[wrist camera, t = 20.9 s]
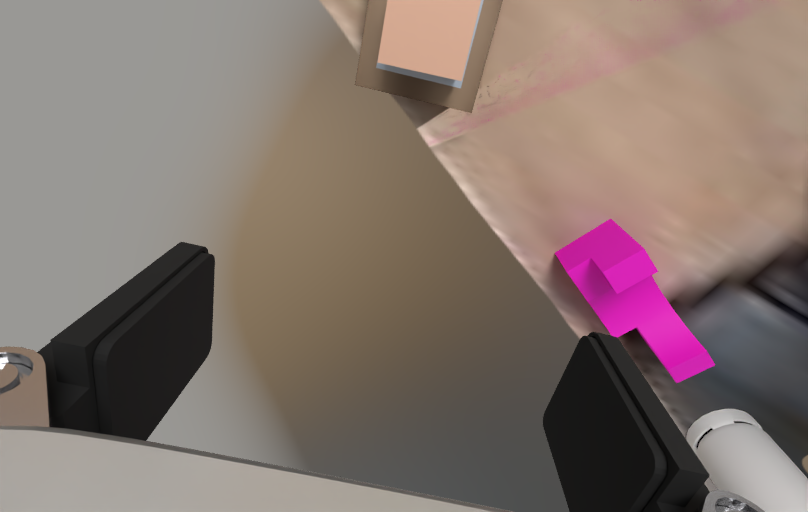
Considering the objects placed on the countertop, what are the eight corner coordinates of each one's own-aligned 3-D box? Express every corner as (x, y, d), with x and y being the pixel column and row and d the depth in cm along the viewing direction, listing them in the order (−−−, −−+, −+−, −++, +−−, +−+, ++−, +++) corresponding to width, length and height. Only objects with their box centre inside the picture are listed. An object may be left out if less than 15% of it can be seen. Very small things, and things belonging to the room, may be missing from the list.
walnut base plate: (503, -19, 35) (509, -25, 32) (468, 108, 39) (471, 113, 36) (381, -50, 34) (378, -58, 32) (360, 82, 39) (354, 85, 36)
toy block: (554, 252, 45) (576, 287, 38) (609, 217, 43) (644, 248, 36) (621, 347, 49) (651, 394, 43) (674, 320, 48) (715, 365, 41)
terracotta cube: (456, 77, 30) (461, 81, 25) (385, 61, 30) (377, 62, 25) (476, -6, 28) (485, -18, 23) (399, -24, 27) (393, -39, 23)
